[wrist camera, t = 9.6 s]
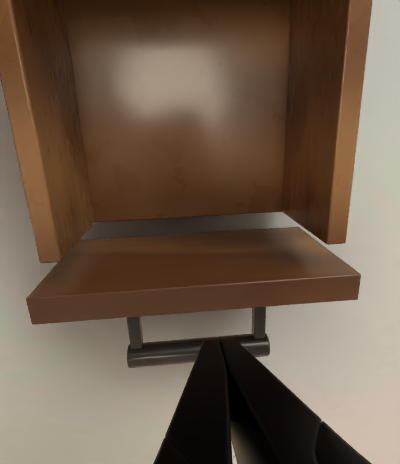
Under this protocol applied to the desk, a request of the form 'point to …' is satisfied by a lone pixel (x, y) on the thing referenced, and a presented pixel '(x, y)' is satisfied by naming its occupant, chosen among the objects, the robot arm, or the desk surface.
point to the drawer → (185, 153)
